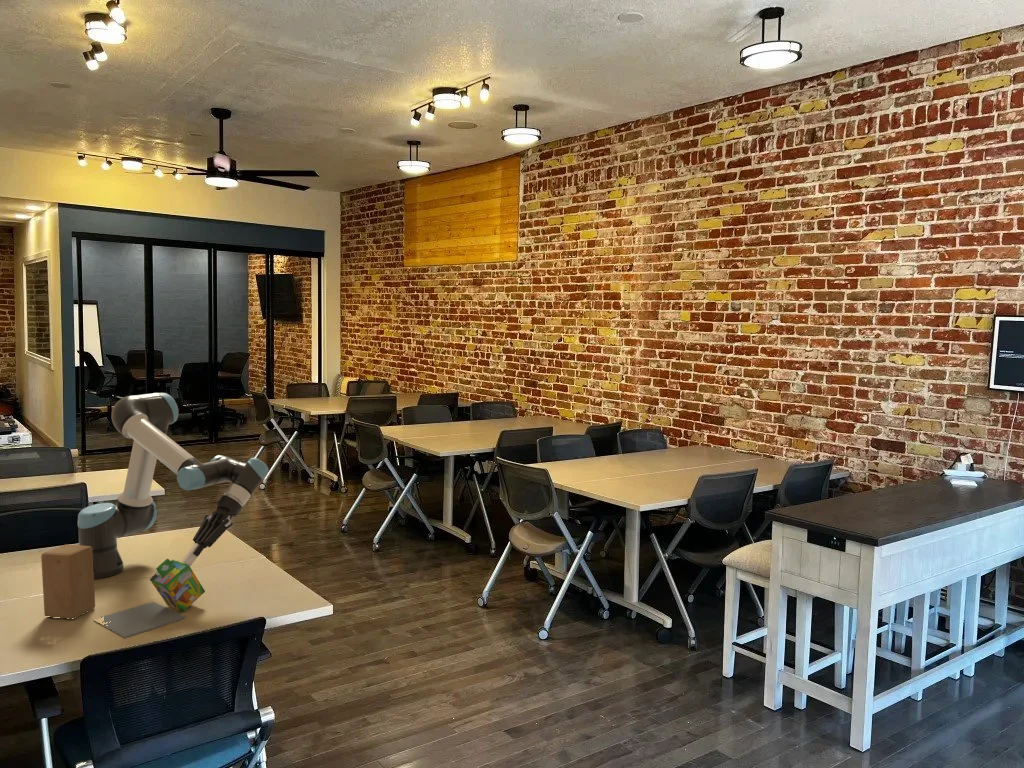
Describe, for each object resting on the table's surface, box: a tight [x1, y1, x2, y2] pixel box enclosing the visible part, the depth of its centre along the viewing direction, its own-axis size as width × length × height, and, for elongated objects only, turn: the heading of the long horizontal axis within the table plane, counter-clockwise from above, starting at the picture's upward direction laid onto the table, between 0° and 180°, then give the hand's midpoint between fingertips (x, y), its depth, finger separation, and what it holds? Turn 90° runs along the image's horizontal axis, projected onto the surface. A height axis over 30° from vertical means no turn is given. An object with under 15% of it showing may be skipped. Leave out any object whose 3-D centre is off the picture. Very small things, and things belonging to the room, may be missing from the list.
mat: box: [100, 601, 187, 639], centre depth 227 cm, size 20×18×1 cm
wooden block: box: [40, 543, 96, 619], centre depth 231 cm, size 10×10×20 cm
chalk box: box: [149, 558, 206, 613], centre depth 234 cm, size 9×9×15 cm
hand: (186, 563), depth 236 cm, fingers closed
